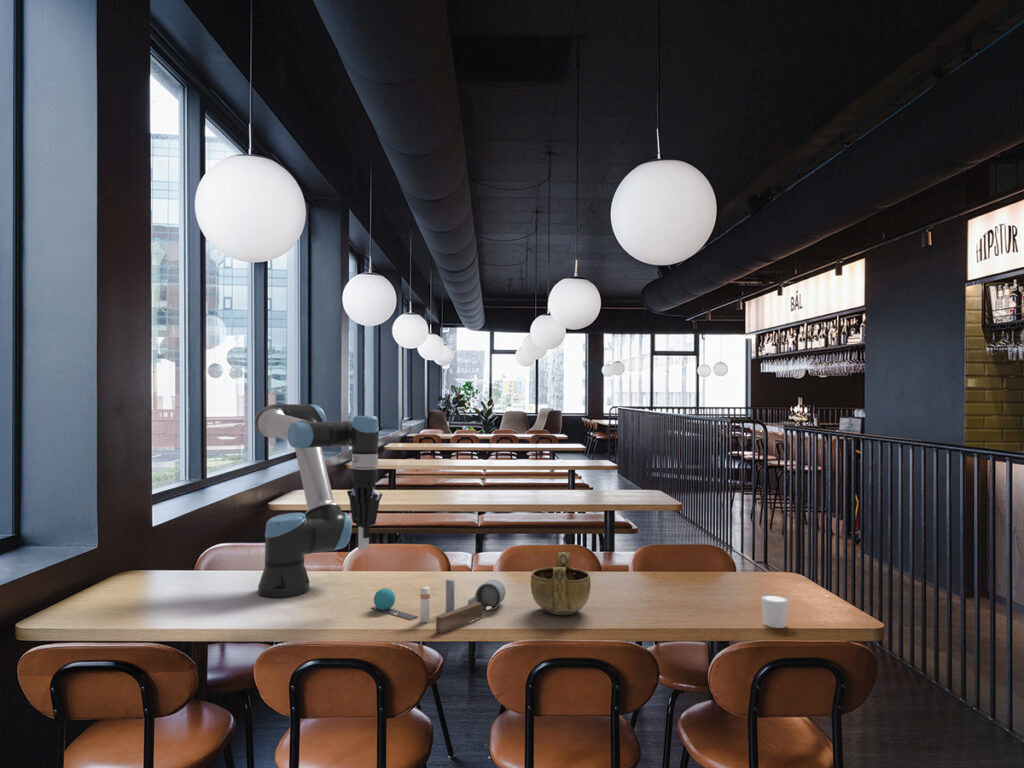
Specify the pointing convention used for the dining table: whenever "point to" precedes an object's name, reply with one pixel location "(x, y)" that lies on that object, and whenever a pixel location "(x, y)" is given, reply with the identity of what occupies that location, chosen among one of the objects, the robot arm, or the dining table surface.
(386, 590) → the ball
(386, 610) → the grey flat bar
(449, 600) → the grey pin
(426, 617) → the white pin
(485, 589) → the ceramic mug
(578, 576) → the ceramic bowl
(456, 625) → the backstop
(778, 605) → the white cup
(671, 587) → the dining table surface
